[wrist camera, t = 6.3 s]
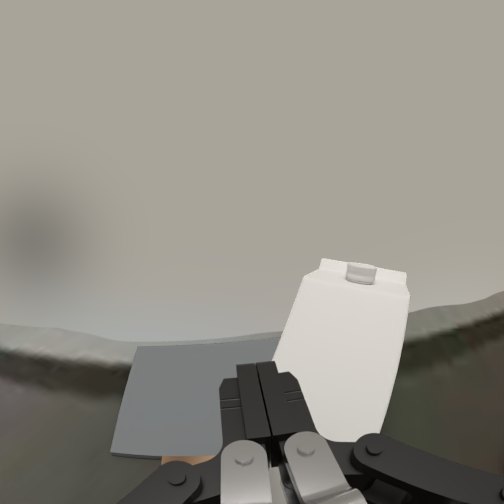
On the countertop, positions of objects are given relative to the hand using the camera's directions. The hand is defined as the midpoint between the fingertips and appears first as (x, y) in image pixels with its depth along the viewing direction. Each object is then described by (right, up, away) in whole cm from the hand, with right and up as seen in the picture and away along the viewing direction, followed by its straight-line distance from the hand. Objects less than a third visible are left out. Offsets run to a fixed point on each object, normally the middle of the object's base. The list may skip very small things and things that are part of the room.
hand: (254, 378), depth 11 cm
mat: (-1, -9, +16) cm, 19 cm away
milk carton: (+2, -11, +1) cm, 11 cm away
